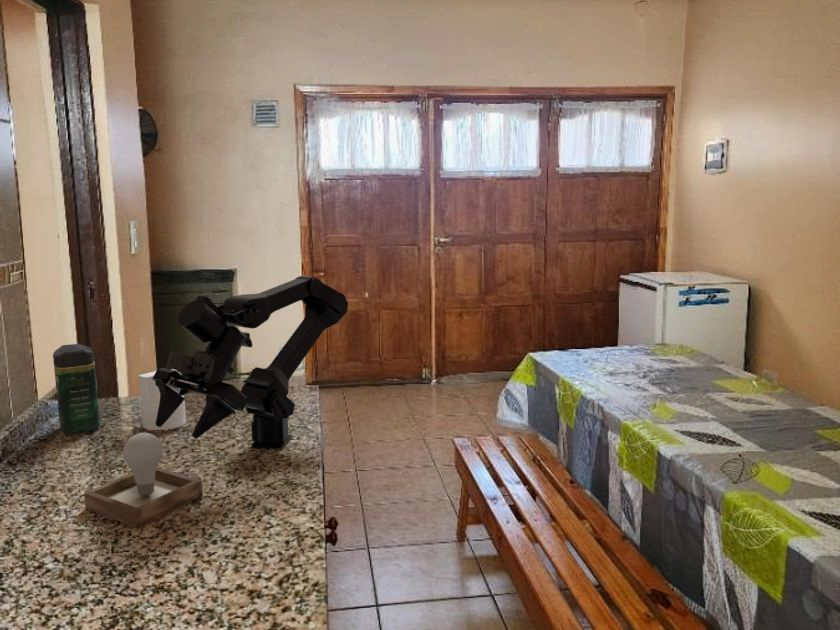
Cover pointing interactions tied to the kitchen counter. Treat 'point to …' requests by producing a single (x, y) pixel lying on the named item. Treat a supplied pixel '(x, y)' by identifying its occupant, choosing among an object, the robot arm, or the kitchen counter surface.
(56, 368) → the coffee jar
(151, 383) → the cylinder with rectangular tab
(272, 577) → the kitchen counter surface
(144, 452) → the lightbulb
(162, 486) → the walnut tray
